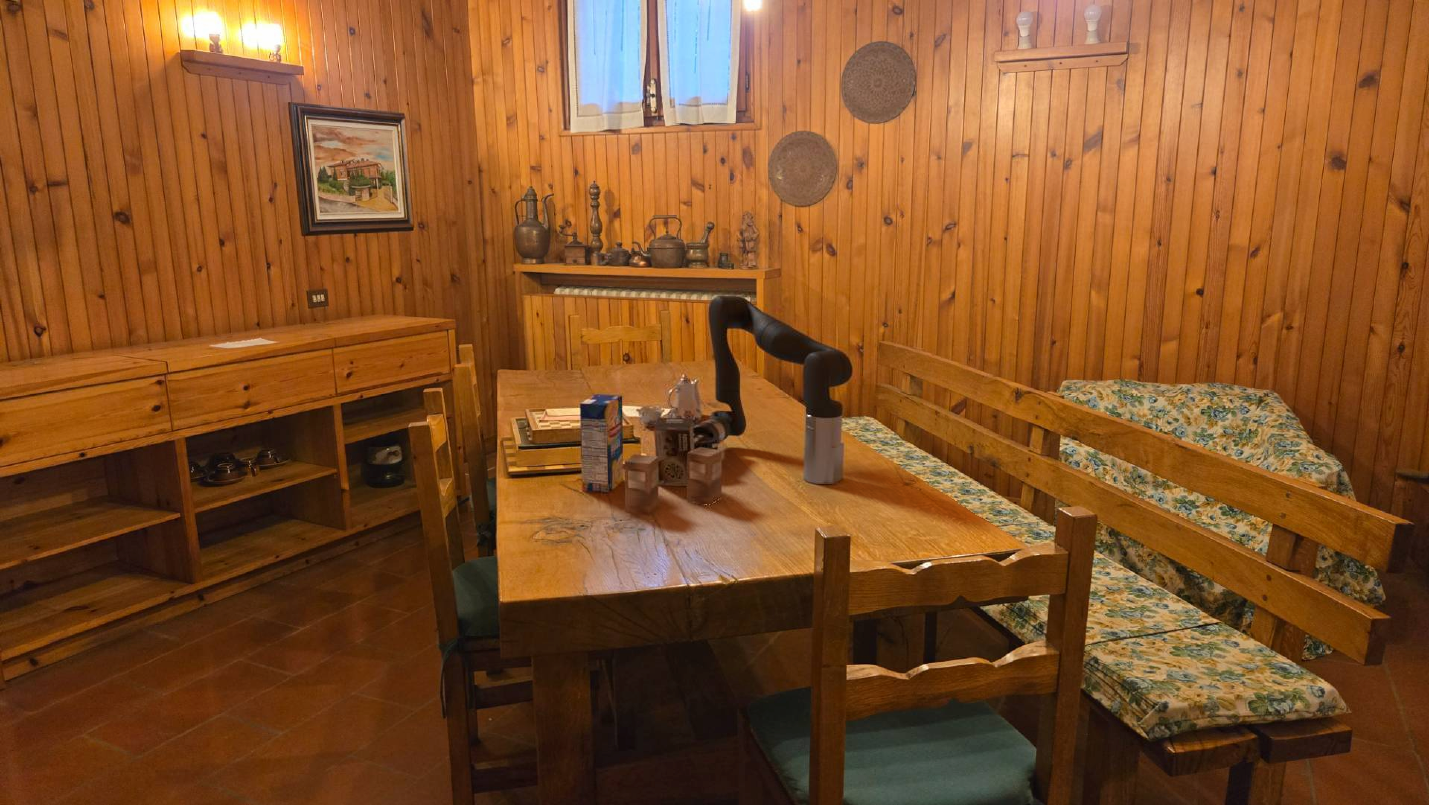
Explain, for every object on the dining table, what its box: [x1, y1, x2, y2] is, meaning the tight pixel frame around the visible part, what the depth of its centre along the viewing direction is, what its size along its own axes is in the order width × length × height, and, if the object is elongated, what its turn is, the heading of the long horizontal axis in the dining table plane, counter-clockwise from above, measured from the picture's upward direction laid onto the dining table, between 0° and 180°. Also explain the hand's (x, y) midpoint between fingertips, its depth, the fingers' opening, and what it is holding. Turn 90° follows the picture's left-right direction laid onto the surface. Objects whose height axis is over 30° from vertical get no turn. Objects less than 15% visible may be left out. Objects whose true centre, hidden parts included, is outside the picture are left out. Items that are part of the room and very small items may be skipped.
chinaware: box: [635, 373, 706, 428], centre depth 295 cm, size 28×17×17 cm, turn 143°
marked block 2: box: [686, 447, 723, 506], centre depth 222 cm, size 6×6×12 cm
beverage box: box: [579, 393, 624, 494], centre depth 231 cm, size 7×11×22 cm, turn 166°
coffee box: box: [653, 417, 694, 487], centre depth 232 cm, size 9×6×16 cm
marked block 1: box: [624, 454, 659, 515], centre depth 215 cm, size 6×6×12 cm
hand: (682, 450), depth 236 cm, fingers closed
